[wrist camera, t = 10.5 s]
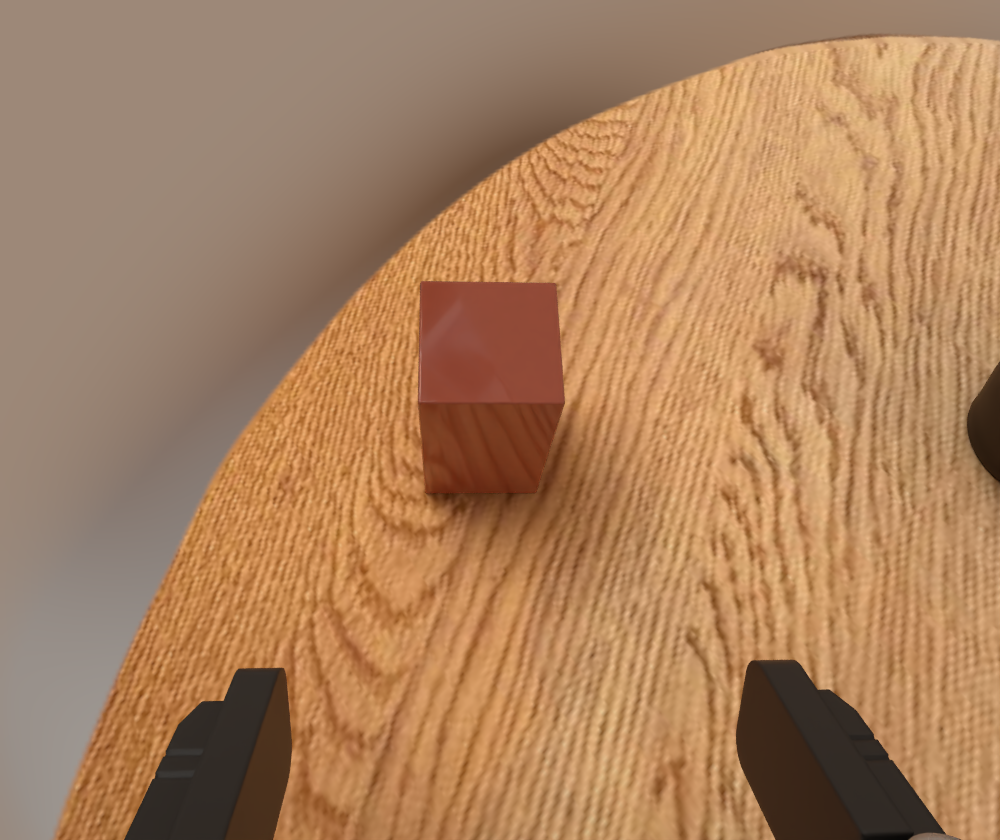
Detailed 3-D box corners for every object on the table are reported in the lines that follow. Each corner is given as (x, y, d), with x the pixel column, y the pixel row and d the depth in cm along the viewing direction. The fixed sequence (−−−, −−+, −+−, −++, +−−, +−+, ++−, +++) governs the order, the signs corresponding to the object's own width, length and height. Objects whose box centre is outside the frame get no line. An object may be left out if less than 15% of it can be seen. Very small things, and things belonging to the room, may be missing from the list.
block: (536, 493, 30) (565, 403, 22) (424, 493, 29) (418, 403, 22) (531, 394, 31) (556, 282, 24) (426, 394, 31) (420, 280, 24)
